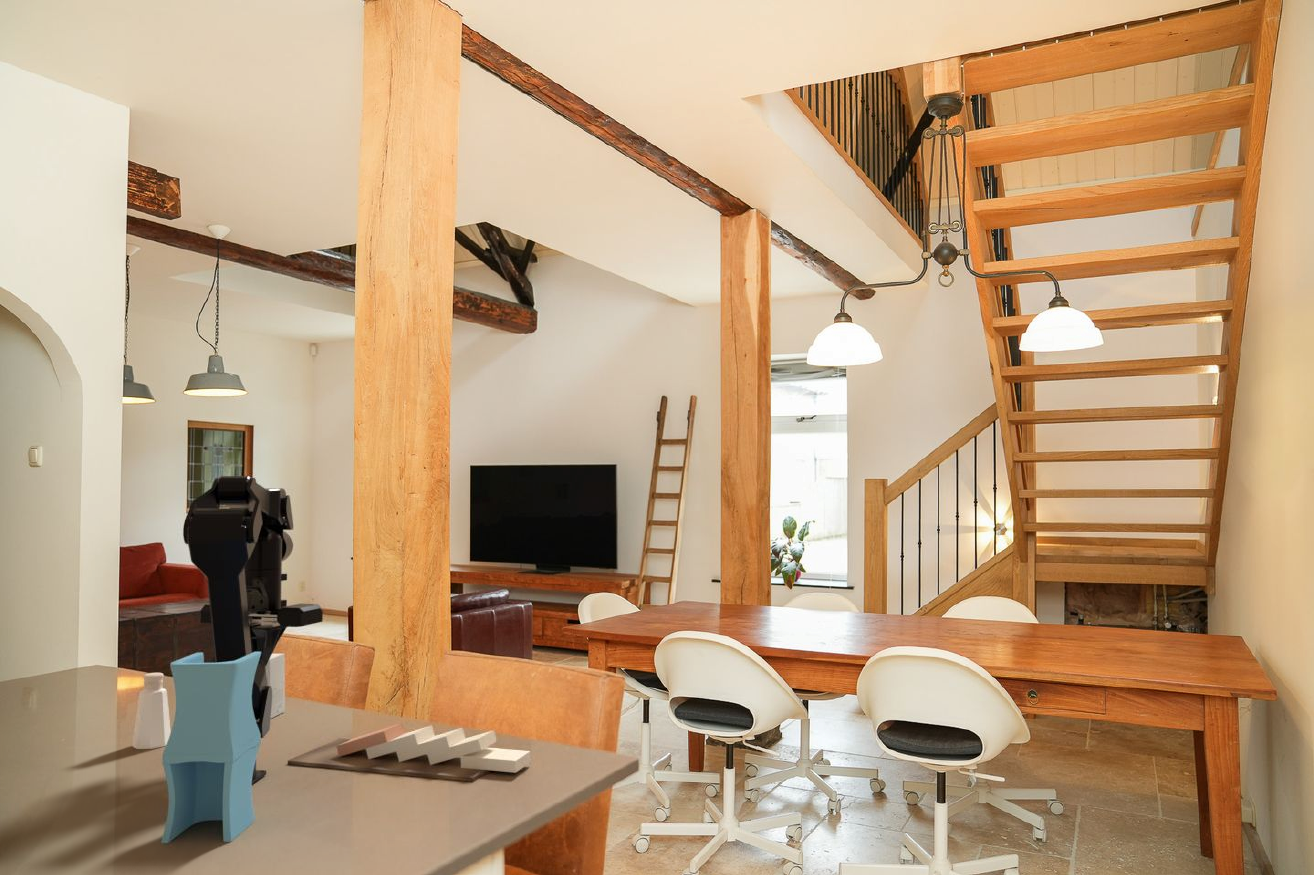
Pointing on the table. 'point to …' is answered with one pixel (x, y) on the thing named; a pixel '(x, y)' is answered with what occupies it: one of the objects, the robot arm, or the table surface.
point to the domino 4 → (496, 760)
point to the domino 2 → (432, 744)
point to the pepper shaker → (152, 714)
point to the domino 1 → (401, 742)
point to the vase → (211, 745)
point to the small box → (276, 682)
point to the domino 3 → (463, 747)
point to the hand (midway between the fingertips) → (260, 669)
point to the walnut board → (385, 763)
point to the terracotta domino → (370, 739)
